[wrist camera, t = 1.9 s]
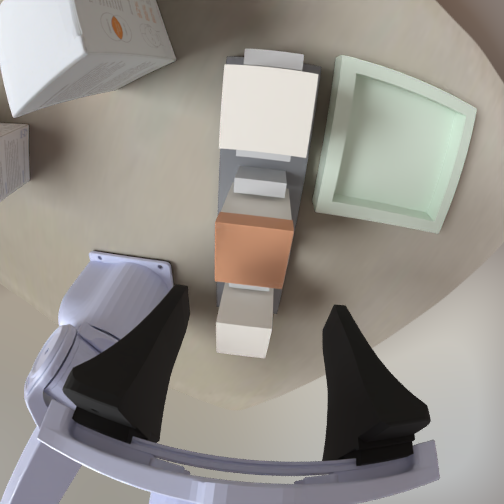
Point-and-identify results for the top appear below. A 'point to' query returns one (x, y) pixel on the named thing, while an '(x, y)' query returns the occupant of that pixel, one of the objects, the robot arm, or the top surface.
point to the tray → (391, 147)
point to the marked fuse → (253, 239)
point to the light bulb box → (13, 157)
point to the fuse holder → (265, 158)
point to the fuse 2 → (244, 322)
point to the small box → (77, 48)
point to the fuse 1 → (267, 109)
